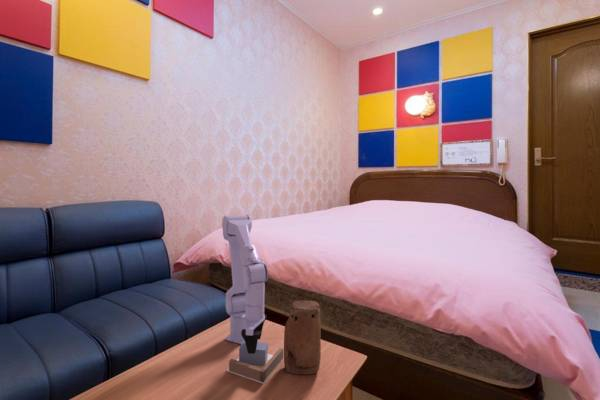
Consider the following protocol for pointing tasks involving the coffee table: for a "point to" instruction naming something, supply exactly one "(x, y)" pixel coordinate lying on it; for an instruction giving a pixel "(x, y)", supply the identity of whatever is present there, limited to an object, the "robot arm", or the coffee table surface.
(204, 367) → the coffee table surface
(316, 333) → the brown tall cylinder
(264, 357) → the bar
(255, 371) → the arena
